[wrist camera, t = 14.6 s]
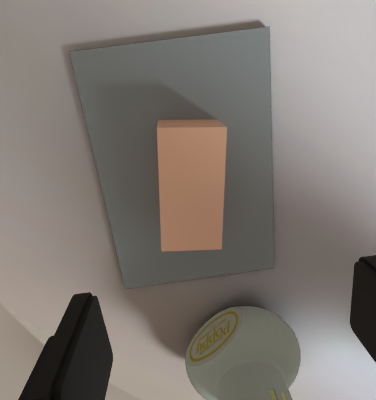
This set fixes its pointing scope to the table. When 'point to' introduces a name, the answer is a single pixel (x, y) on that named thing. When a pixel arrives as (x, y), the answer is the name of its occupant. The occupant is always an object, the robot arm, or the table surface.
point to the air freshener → (243, 356)
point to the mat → (148, 148)
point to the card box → (191, 183)
